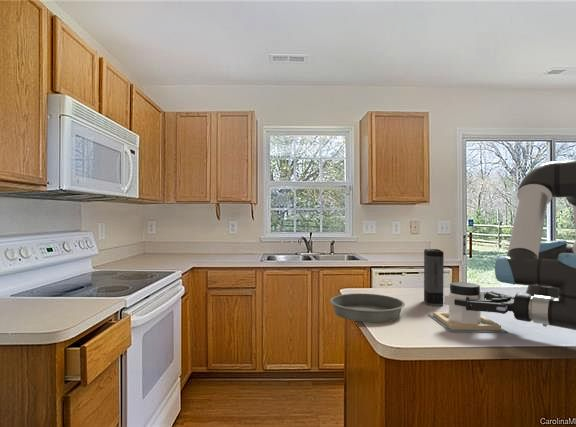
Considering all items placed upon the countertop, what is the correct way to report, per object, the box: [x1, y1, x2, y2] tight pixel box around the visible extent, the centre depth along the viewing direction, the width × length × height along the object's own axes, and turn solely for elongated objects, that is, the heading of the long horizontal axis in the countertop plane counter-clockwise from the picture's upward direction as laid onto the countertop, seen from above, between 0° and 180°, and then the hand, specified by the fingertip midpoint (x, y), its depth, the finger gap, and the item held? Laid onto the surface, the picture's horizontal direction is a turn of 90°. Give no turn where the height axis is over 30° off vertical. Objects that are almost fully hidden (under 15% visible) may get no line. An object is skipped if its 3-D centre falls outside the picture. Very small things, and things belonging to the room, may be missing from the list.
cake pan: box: [329, 293, 406, 323], centre depth 129 cm, size 25×25×4 cm
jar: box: [448, 281, 481, 324], centre depth 116 cm, size 9×8×12 cm
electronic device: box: [423, 248, 445, 307], centre depth 145 cm, size 9×6×20 cm, turn 168°
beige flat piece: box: [428, 311, 509, 334], centre depth 118 cm, size 16×18×2 cm
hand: (454, 296), depth 120 cm, fingers open, 13 cm apart
